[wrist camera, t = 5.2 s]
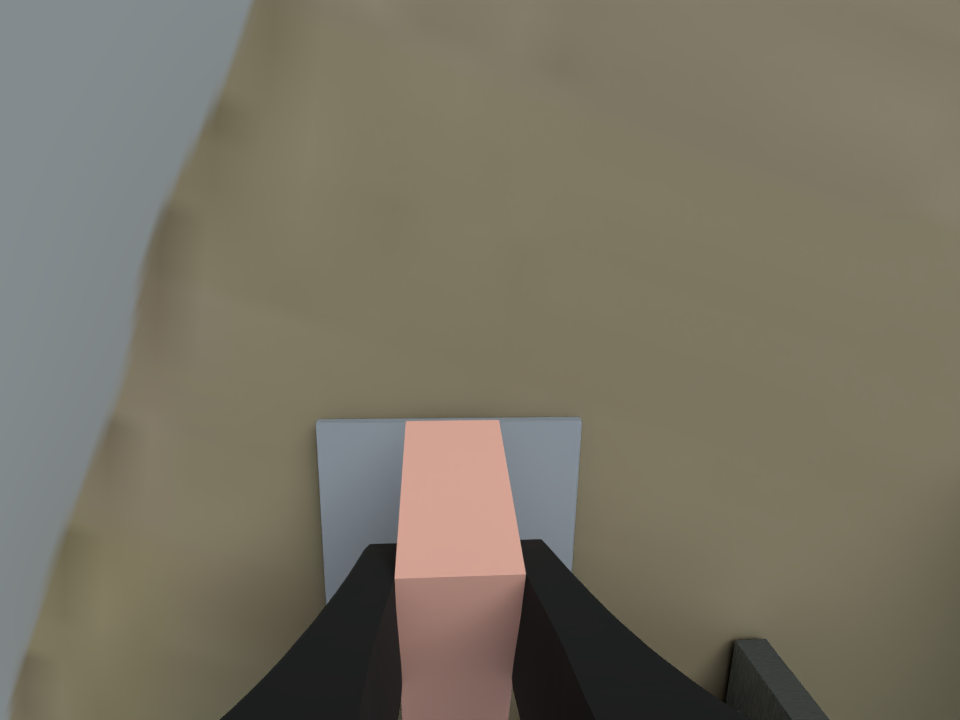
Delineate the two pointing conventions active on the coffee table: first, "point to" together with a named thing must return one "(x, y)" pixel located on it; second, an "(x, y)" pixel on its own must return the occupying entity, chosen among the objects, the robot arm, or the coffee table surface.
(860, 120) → the coffee table surface
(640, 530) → the coffee table surface
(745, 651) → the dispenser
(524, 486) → the pad
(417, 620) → the salmon pink brick
